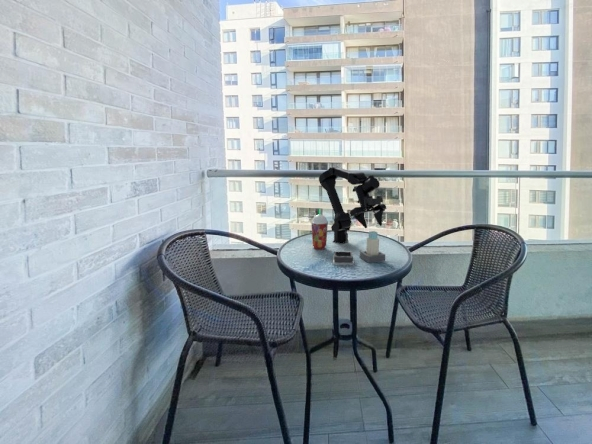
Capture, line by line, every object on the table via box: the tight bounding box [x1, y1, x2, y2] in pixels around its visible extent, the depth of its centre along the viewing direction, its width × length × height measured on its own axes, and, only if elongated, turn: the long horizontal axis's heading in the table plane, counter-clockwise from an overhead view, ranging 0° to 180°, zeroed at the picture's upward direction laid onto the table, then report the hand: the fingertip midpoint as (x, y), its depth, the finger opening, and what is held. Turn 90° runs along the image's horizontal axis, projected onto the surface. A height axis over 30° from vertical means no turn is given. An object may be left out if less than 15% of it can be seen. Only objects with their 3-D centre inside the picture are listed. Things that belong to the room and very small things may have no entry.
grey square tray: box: [359, 250, 386, 264], centre depth 188 cm, size 8×8×3 cm
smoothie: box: [310, 208, 329, 250], centre depth 205 cm, size 8×8×20 cm
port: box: [332, 251, 355, 266], centre depth 185 cm, size 9×9×4 cm
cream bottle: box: [366, 230, 380, 256], centre depth 187 cm, size 4×4×13 cm
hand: (373, 226), depth 194 cm, fingers open, 9 cm apart
